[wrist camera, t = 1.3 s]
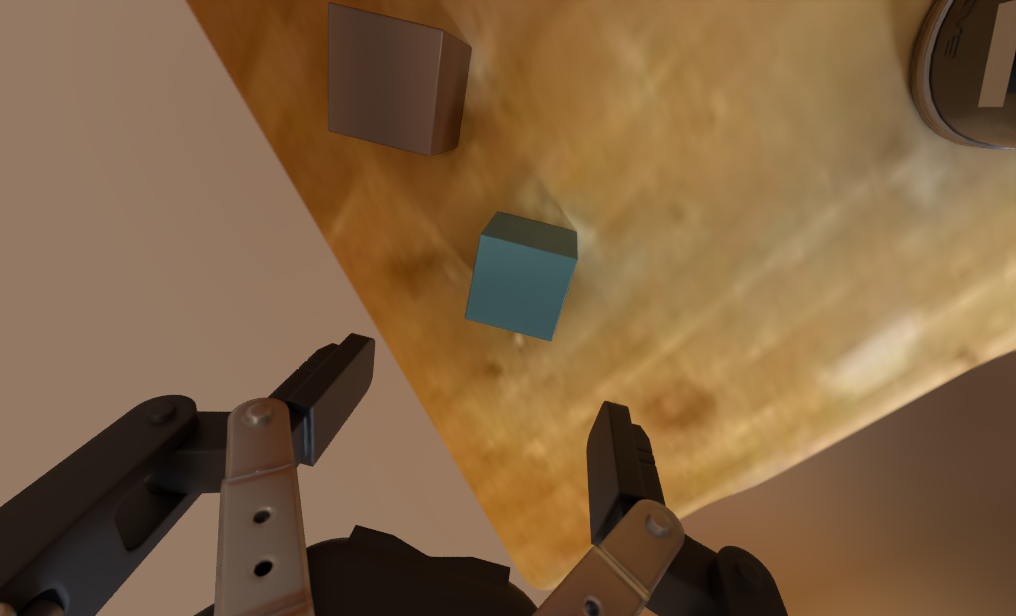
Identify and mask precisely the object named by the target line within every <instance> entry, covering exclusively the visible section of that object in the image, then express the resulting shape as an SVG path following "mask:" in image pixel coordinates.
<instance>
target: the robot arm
mask: <svg viewBox="0 0 1016 616" xmlns="http://www.w3.org/2000/svg"><path fill="white" fill-rule="evenodd" d="M911 88H912V94H913V98H914V102H915V105H916V108H917V110H918V112H919V114H920V116H921V117H922V119H923V120H924V122H925V123H926V124H927V125H928V126H929V127H930V128H931V129H932V130H933V131H934V132H936V133H937V134H938V135H940V136H942V137H943V138H945V139H947V140H949V141H952V142H954V143H958V144H961V145H965V146H971V147H980V148H991V149H1016V0H936V2H935V4H934V5H933V7H932V9H931V11H930V13H929V15H928V16H927V19H926V21H925V23H924V25H923V27H922V30H921V32H920V35H919V38H918V41H917V44H916V48H915V51H914V56H913V62H912V70H911ZM374 353H375V340H374V339H373V338H369V337H366V336H361V335H358V334H354V333H351V334H350V335H349V336H348V337H347V338H346V339H345V340H344V341H343V342H342V343H341V344H340V345H337V344H333V343H332V344H329V345H327V346H325V347H323V348H321V349H318V350H317V351H316V352H315V353H314V354H313V355H312V356H311V357H310V358H309V359H308V360H307V361H305V362H304V363H303V364H302V365H301V366H300V367H299V369H297V370H296V371H295V372H294V373H293V374H292V375H291V376H290V377H289V378H288V379H287V380H285V381H284V382H283V383H282V384H281V385H280V386H279V387H278V388H277V389H276V390H275V391H274V392H273V393H272V394H271V395H270V396H269V397H268V398H257V399H253V400H250V401H247V402H245V403H243V404H241V405H239V406H238V407H236V408H235V409H234V410H233V411H232V412H198V411H197V408H196V404H195V402H194V401H193V400H192V399H191V398H189V397H186V396H182V395H166V396H160V397H156V398H153V399H150V400H147V401H145V402H143V403H141V404H139V405H138V406H136V407H134V408H133V409H132V410H130V411H129V412H128V413H126V414H125V415H124V416H122V417H121V418H120V419H118V420H117V421H116V422H114V423H113V424H111V425H110V426H109V427H108V428H106V429H105V430H103V431H102V432H101V433H99V434H98V435H97V436H95V437H94V438H93V439H91V440H90V441H89V442H87V443H86V444H85V445H83V446H82V447H81V448H79V449H78V450H77V451H75V452H74V453H72V454H71V455H70V456H69V457H67V458H66V459H65V460H63V461H62V462H60V463H59V464H58V465H57V466H55V467H54V468H52V469H51V470H50V471H48V472H47V473H46V474H45V475H43V476H42V477H40V478H39V479H38V480H36V481H35V482H34V483H32V484H31V485H29V486H28V487H27V488H25V489H24V490H23V491H21V492H20V493H19V494H17V495H16V496H15V497H13V498H12V499H11V500H9V501H8V502H7V503H5V504H4V505H3V506H1V507H0V616H95V615H96V614H97V613H98V612H99V611H100V609H101V608H102V607H103V606H104V604H106V602H107V601H108V600H109V599H110V598H111V597H112V596H113V594H114V593H115V592H116V591H117V590H118V589H119V588H120V586H121V585H122V584H123V583H124V582H125V581H126V580H127V578H128V577H129V576H130V575H131V574H132V573H133V572H134V570H135V569H136V568H137V567H138V566H139V565H140V564H141V562H142V561H143V560H144V559H145V558H146V557H147V556H148V554H149V553H150V552H151V551H152V550H153V549H154V548H155V546H156V545H157V544H158V543H159V542H160V540H161V539H162V538H163V537H164V536H165V535H166V534H167V533H168V532H169V530H170V529H171V528H172V527H173V526H174V525H175V524H176V522H177V521H178V520H179V519H180V518H181V517H182V515H183V514H184V513H185V512H186V511H187V510H188V509H189V508H190V506H191V505H192V504H193V503H194V502H195V501H196V499H197V498H198V497H199V496H200V495H201V494H202V493H220V510H219V529H218V548H217V567H216V585H215V603H214V604H212V605H210V606H209V607H207V608H205V609H204V610H203V611H201V612H199V613H198V614H196V615H194V616H639V615H640V613H641V612H642V610H643V609H644V607H646V608H648V609H649V610H651V611H652V612H654V613H655V614H657V615H658V616H788V614H787V612H786V609H785V606H784V604H783V601H782V599H781V596H780V593H779V591H778V588H777V586H776V583H775V581H774V579H773V577H772V575H771V574H770V572H769V571H768V570H767V568H766V567H765V566H764V565H763V564H762V563H761V562H760V561H759V560H758V559H757V558H756V557H754V556H753V555H752V554H750V553H749V552H747V551H745V550H743V549H741V548H739V547H735V546H726V547H723V548H722V549H721V550H720V551H719V552H718V553H716V552H714V551H713V550H711V549H709V548H707V547H706V546H703V545H702V544H700V543H698V542H697V541H695V540H693V539H692V538H690V537H689V536H687V535H686V534H685V533H684V529H683V527H682V524H681V523H680V521H679V519H678V518H677V517H676V515H675V514H674V513H673V512H672V511H671V510H670V509H668V508H667V507H666V505H665V501H664V497H663V493H662V489H661V485H660V481H659V477H658V473H657V468H656V466H655V460H654V456H653V455H652V448H651V444H650V440H649V438H648V436H647V435H646V433H645V432H644V430H643V429H642V428H641V426H639V425H636V424H632V423H631V418H630V413H629V409H628V407H627V406H624V405H620V404H616V403H612V402H609V401H604V402H603V404H602V406H601V408H600V411H599V413H598V415H597V418H596V420H595V422H594V425H593V427H592V429H591V432H590V434H589V438H588V442H587V471H588V490H589V509H590V528H591V544H593V545H594V546H593V547H592V548H591V549H590V550H589V551H588V553H587V554H586V555H585V556H584V557H583V558H582V559H581V561H580V562H579V563H578V564H577V565H576V566H575V567H574V568H573V570H572V571H571V572H570V573H569V574H568V575H567V576H566V577H565V579H564V580H563V581H562V582H561V583H560V584H559V585H558V586H557V588H556V589H555V590H554V591H553V592H552V593H551V594H550V595H549V597H548V598H547V599H546V600H545V601H544V602H543V603H542V605H541V606H540V607H539V608H537V607H536V605H535V604H534V603H533V602H532V600H531V599H530V598H529V597H528V596H527V595H526V594H525V593H524V592H523V591H522V590H520V589H519V588H518V587H517V586H515V585H514V584H512V583H511V582H509V574H510V567H507V566H503V565H500V564H496V563H492V562H489V561H485V560H481V559H478V558H474V557H430V556H427V555H425V554H424V553H422V552H420V551H419V550H417V549H415V548H414V547H412V546H410V545H409V544H407V543H405V542H404V541H402V540H401V539H399V538H397V537H396V536H394V535H391V534H387V533H384V532H379V531H376V530H373V529H369V528H366V527H362V526H358V525H356V526H355V527H354V529H353V531H352V533H351V535H350V537H349V538H336V539H330V540H326V541H322V542H320V543H317V544H314V545H311V546H309V547H307V548H306V544H305V535H304V527H303V518H302V510H301V501H300V493H299V484H298V476H297V467H298V465H299V464H300V463H301V464H305V465H309V466H314V465H315V463H316V462H317V460H318V459H319V458H320V456H321V455H322V453H323V452H324V451H325V449H326V448H327V446H328V445H329V444H330V442H331V441H332V440H333V438H334V437H335V435H336V434H337V432H338V431H339V430H340V428H341V427H342V425H343V424H344V423H345V421H346V420H347V419H348V417H349V416H350V414H351V413H352V412H353V410H354V409H355V408H356V406H357V405H358V403H359V402H360V401H361V399H362V398H363V396H364V395H365V394H366V392H367V390H368V388H369V386H370V384H371V381H372V377H373V367H374Z"/></svg>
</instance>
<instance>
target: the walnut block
mask: <svg viewBox="0 0 1016 616" xmlns="http://www.w3.org/2000/svg"><path fill="white" fill-rule="evenodd" d="M471 49H472V48H471V46H469V45H468V44H466V43H464V42H463V41H461V40H459V39H458V38H456V37H455V36H453V35H451V34H450V33H448V32H446V31H445V30H443V29H439V28H435V27H430V26H426V25H422V24H418V23H414V22H410V21H406V20H401V19H397V18H393V17H389V16H385V15H381V14H377V13H372V12H368V11H364V10H360V9H356V8H352V7H348V6H343V5H339V4H335V3H331V2H330V3H328V130H329V131H330V132H334V133H338V134H342V135H346V136H350V137H354V138H357V139H361V140H365V141H369V142H373V143H377V144H381V145H385V146H389V147H393V148H397V149H401V150H405V151H409V152H413V153H417V154H421V155H425V156H432V155H435V154H438V153H441V152H444V151H447V150H450V149H453V148H456V147H457V146H458V139H459V132H460V125H461V118H462V111H463V104H464V97H465V90H466V83H467V76H468V69H469V63H470V56H471Z"/></svg>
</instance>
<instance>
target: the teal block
mask: <svg viewBox="0 0 1016 616" xmlns="http://www.w3.org/2000/svg"><path fill="white" fill-rule="evenodd" d="M577 260H578V256H577V232H576V231H572V230H568V229H564V228H561V227H557V226H553V225H549V224H545V223H541V222H537V221H533V220H529V219H525V218H521V217H517V216H514V215H510V214H506V213H502V212H497V213H496V214H495V216H494V217H493V218H492V220H491V221H490V223H489V224H488V225H487V227H486V228H485V229H484V231H483V232H482V233H481V235H480V240H479V245H478V250H477V256H476V261H475V266H474V272H473V277H472V282H471V288H470V293H469V298H468V303H467V309H466V314H465V319H468V320H472V321H476V322H480V323H483V324H487V325H491V326H495V327H498V328H502V329H506V330H510V331H513V332H517V333H521V334H525V335H529V336H532V337H536V338H540V339H544V340H547V341H552V338H553V335H554V332H555V329H556V326H557V323H558V320H559V316H560V313H561V310H562V307H563V304H564V301H565V298H566V295H567V291H568V288H569V285H570V282H571V279H572V276H573V273H574V270H575V266H576V263H577Z"/></svg>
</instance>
